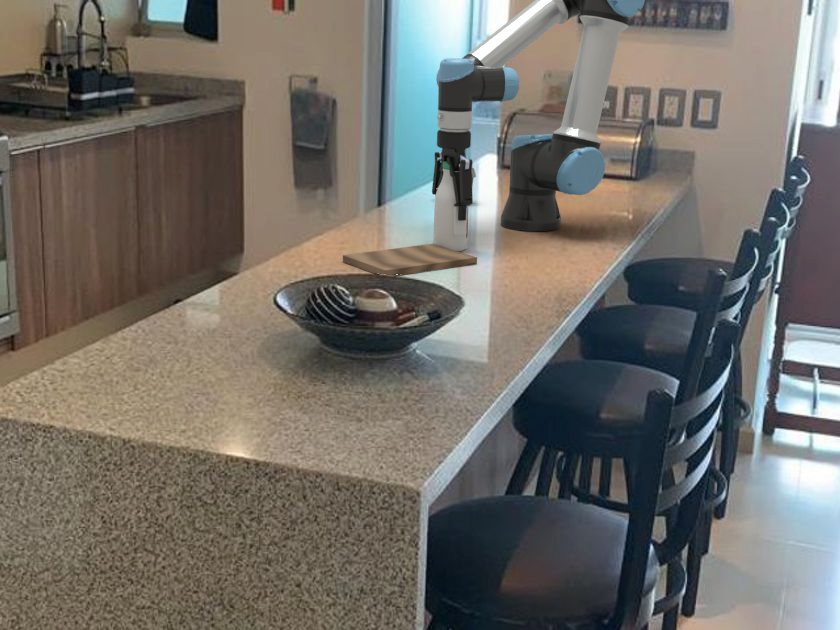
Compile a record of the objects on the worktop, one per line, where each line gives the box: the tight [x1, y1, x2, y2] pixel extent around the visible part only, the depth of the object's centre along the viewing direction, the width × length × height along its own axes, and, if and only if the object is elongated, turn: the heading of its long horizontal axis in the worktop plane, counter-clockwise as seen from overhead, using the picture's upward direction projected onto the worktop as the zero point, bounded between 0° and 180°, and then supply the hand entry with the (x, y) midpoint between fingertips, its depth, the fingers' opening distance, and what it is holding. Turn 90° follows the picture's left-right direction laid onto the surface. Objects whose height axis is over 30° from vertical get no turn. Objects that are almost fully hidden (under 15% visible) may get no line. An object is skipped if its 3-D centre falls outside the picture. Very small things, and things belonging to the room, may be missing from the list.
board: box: [342, 243, 478, 276], centre depth 250 cm, size 24×16×2 cm, turn 126°
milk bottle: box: [432, 161, 469, 252], centre depth 262 cm, size 8×8×20 cm
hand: (450, 230), depth 264 cm, fingers closed on milk bottle, 8 cm apart
